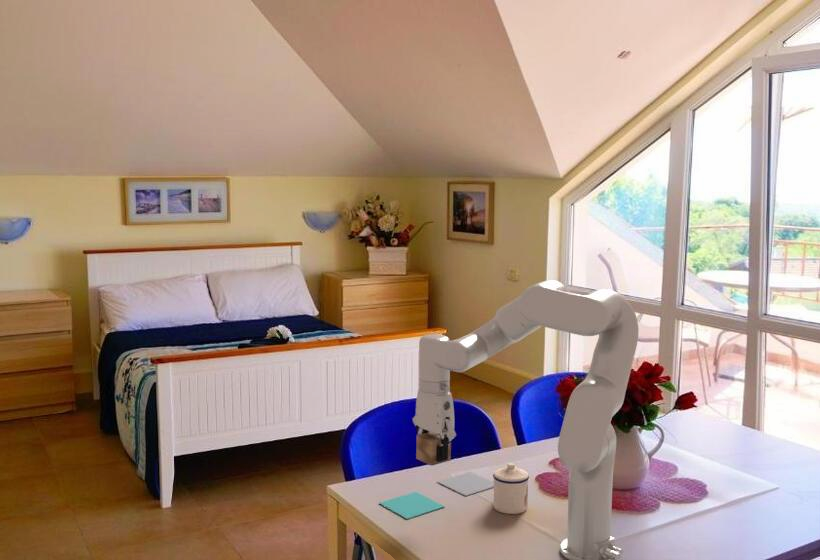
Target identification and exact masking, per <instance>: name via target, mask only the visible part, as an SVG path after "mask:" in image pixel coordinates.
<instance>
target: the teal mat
mask: <svg viewBox="0 0 820 560" xmlns="http://www.w3.org/2000/svg"><path fill="white" fill-rule="evenodd" d="M380 504H381V505H380ZM378 505H380V506H382V505H383V506H382V507H384V506H385V507H386V509H387V508H388V509H387V510H389V509H390V510H389V511H391V512H392V513H394V512H395V514H396V513H397V515H398V514H399V515H398V516H400V515H401V516H402V518H403V517H404V519H405V518H406V519H405V520H407V519H408V520H410V518H411V519H413V518H416V517H420V516H422V515H425V514H429V513H432V512H435V511H438V510H440V509H441V510H442V509H445V508H446V507H445V505H442V504H441V503H438V502H437V501H435V500H433V499H431V498H429V497H427V496H425V495H424V494H421V493H420V492H417V491H414V492H411V493H407V494H404V495H401V496H397V497H395V498H391V499H388V500H383V501H380V502H379V503H378ZM385 507H384V508H385ZM401 516H400V517H401Z"/></svg>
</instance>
